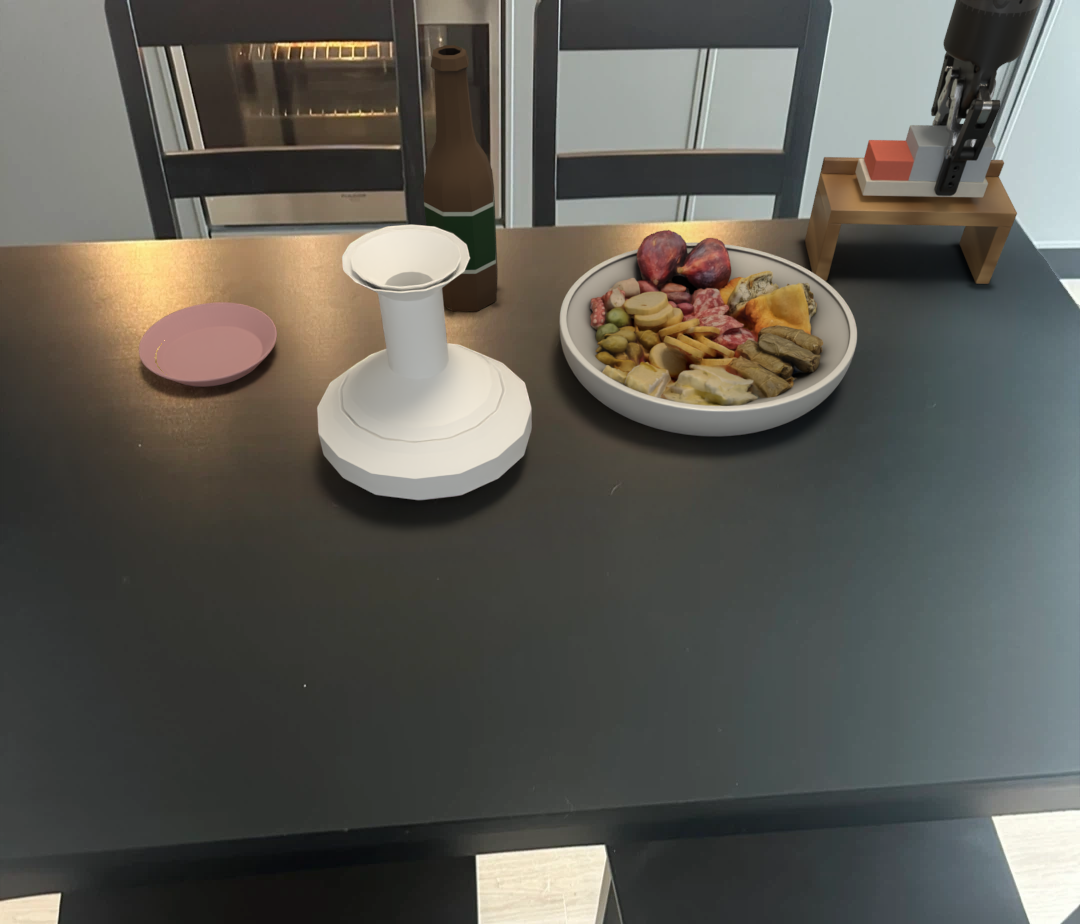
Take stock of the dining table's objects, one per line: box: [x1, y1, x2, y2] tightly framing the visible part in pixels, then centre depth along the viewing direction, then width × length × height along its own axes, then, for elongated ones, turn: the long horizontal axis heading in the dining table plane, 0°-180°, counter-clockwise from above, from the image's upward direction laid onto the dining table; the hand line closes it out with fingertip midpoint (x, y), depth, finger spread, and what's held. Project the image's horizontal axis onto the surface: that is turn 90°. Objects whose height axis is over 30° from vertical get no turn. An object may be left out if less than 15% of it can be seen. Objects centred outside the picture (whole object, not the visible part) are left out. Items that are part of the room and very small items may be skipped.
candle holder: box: [316, 224, 533, 501], centre depth 82 cm, size 20×20×19 cm
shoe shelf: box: [804, 156, 1018, 285], centre depth 106 cm, size 20×9×10 cm, turn 87°
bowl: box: [559, 229, 858, 437], centre depth 96 cm, size 30×30×8 cm
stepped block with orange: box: [855, 124, 997, 197], centre depth 101 cm, size 13×5×5 cm, turn 87°
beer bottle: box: [423, 44, 498, 312], centre depth 97 cm, size 8×8×24 cm
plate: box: [138, 301, 278, 387], centre depth 99 cm, size 14×14×2 cm
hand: (938, 180), depth 103 cm, fingers closed on stepped block with orange, 5 cm apart
